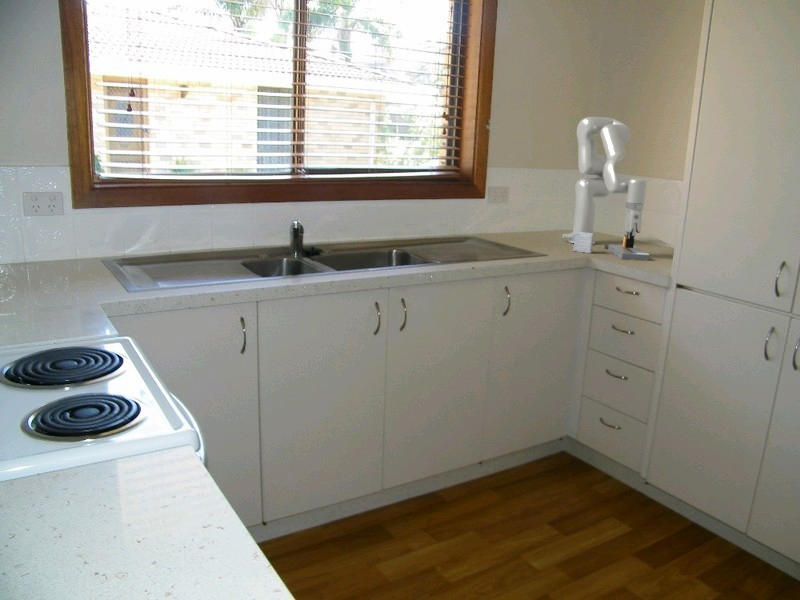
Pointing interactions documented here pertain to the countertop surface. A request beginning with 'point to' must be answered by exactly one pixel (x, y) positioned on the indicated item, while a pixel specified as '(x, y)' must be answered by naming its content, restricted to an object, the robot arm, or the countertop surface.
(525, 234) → the countertop surface
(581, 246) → the medicine box
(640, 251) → the panel
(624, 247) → the toggle
